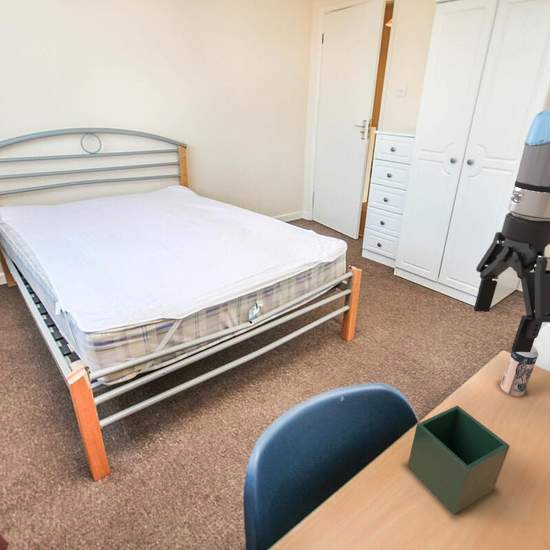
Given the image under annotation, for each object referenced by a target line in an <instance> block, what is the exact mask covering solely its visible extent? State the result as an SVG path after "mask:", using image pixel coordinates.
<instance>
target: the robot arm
mask: <svg viewBox="0 0 550 550" xmlns="http://www.w3.org/2000/svg"><path fill="white" fill-rule="evenodd" d="M509 198H510V199H509V203H508V207H507V209H508V211H509V212H508V213H506V214H505V216H504V221H503V225H502V227H501V231H496V232H495V234H494V237H493V239H492V242H491V244H490V246H489V247H488V248H487V250H486V252H485V253H484V255H483V257H482V258H481V260H480V261H479V263H478V265H476V272H477V273H480V274H479V278H480V279H481V280H480V283H479V287H478V291H477V296H476V299H475V303H474V307H473V310H474V312H482V313H483V312H485V313H486V312H487V313H489V312H490V309H491V306H492V302H493V299H494V296H495V293H496V289H497V286H498V281H497V280H499V279H500V278H499V276H500V275H501V274H503V273H504V272H505V271H507V269H509V268H512V270H513V271H514V272H516V277H517V278H518V279H520V282H521V289H522V296H523V302H524V307H525V314H526V315H521V317H520V318H521V319H520V320H519V321H520V322H519V323H518V327H517V330H516V334H515V336H514V340H513V342H512V345H511V352H512V351H513V352H530V351H531V348H532V346H534V342H535V339H537V338H538V336H539V333H540V330H541V328H542V325H543V323H550V256H547V255H546V254H545V252H546V247H548V246H549V245H550V110H547V109H546V110H542V111H539V112H538V113H536V115H535V116H534V117H533V119H532V122H531V124H530V126H529V129H528V133H527V135H526V138H525V140H524V143H523V149H522V154H521V157H520V163H519V166H518V170H517V174H516V178H515V181H514V186H513V190H512V193H511V195H510V197H509Z"/></svg>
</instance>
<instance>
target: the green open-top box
mask: <svg viewBox="0 0 550 550" xmlns="http://www.w3.org/2000/svg"><path fill="white" fill-rule="evenodd" d="M414 431H415V432H414V436H413V439H412V445H411V448H410V452H409V457H408V462H407V467H408V469H409V470H410V471H411V472H412V473H413V474H414V475H415V476H416V477H417V478H418V479H419V480H420V482H421V483H423V484H424V486H425V487H426V488H427V489H428V490H429V491H430V492H431V493H432V494H433V495H434V496H435V497H436V498H437V499H438V500H439V501H440V502H441V503H442V505H444V507H445V508H446V509H447V510H448V511H449V512H450V513H451V514H452V515H456V514H457V513H459V512H460V511H462V510H464V509H465V508H467V507H468V506H470V505H471V504H473V503H474V502H476V501H477V500H479V499H481V498H482V497H484V496H485V495H487V494H489V493H490V492H492V491H493V490H494V489H495V487H496V484H497V482H498V479H499V476H500V475H501V470H502V469H503V465H504V463H505V460H506V457H507V455H508V453H509V449H510V447H511V445H510V444H509V443H507V442H506V441H504V439H502V438H501V437H500V436H498V435H497V434H495V433H494V432H493V431H492V430H491V429H489V428H488V427H486V426H485V425H483V424H482V423H481V422H480V421H479V420H477V419H476V418H475V417H473V416H472V415H471V414H469V413H468V412H467V411H466V410H465V409H464V408H461V406H459V405H454V406H453V407H450V408H448V409H445V410H444V411H442V412H440V413H438V414H436V415H432V416H431V417H429V418H426V419H424V420H422V421H419V422H418V423H417V424H416V428H415V430H414Z"/></svg>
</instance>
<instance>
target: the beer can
mask: <svg viewBox="0 0 550 550" xmlns="http://www.w3.org/2000/svg"><path fill="white" fill-rule="evenodd" d="M538 357H539V351H538V348H537V347H536V346H535V345H533V346H532V348H531V351H530V352H513V351H512V350H511V351H510V354H509V358H508V361H507V364H506V367H505V370H504V373H503V376H502V379H501V382H500V388H501V389H502V390H503V392H505V393H506V394H508V395H510V396H513V397H514V396H515V397H521V396H524V395H525V393H526V390H527V387H528V384H529V382H530V378H531V376H532V374H533V370H534V368H535V365H536V363H537V360H538Z"/></svg>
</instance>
